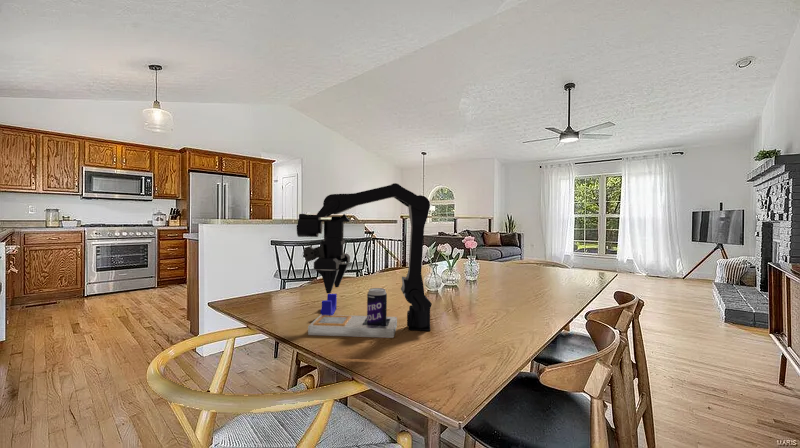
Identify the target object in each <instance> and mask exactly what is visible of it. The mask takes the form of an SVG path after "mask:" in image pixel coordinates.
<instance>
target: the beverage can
mask: <svg viewBox="0 0 800 448" xmlns="http://www.w3.org/2000/svg"><path fill="white" fill-rule="evenodd" d="M366 295H367V296H366V299H367V300H366V301H367V302H366V306H367V307H366V316H367V325H369V326H386V317H388V316H387V313H388V311H387V305H388V304H387V303H388V302H387V301H388V300H387V299H388V298H387V297H388V295H387V290H386V288H383V287H382V288H381V287H373V288H369V289H368V292H367V294H366Z"/></svg>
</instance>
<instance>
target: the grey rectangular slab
mask: <svg viewBox="0 0 800 448" xmlns="http://www.w3.org/2000/svg"><path fill="white" fill-rule="evenodd" d="M397 326H398V316H386V326H369V325H367V315H350V314H349V315H347V314H344V315H343V314H333V315H322V314H320V315H319V316H317V318H315V319H314V320H313V321H312V322H311V323H310V324H309V325H308V326H307V335H308V336H327V337H330V336H331V337H355V338H357V337H358V338H359V337H361V338H385V339H386V338H388V339H392V338H393V339H394V337H395V334H396V330H397Z"/></svg>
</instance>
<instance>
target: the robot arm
mask: <svg viewBox="0 0 800 448" xmlns="http://www.w3.org/2000/svg"><path fill="white" fill-rule="evenodd" d="M393 198H394V199H396V200H397V202H400V203H401V204H402V205H404V206H406V207H407V208H408V216H409V217H408V218H409V222H410V235H409V236H410V238H409V254H408V255H409V256H408V269H407V273H406V276H401V282H402V285H401V288H400V290H401V293H402V294H403V297H404V299H405V300H406V301H407V303H409V304H410V305H409V306H408V308H409V309H408V310H407V313H406V315H407V316H406V326H407V327H408V328H407V329H408V331H431V307H432V302H431V300H430V299H429V298H428V297H427V296H426V294H425V287H424V281H423V275H422V268H423V267H422V266H423V265H422V264H423V249H424V237H425V236H424V235H425V233H424V232H425V226H426V223H427V219H428V217H429V213H430V212H429V211H430V208H431V203H430V200H429V199H428V198H427V197H426V196H425V195H421V194H419V195H417V194H416V193H414V192H412V191H410V190H408V189H407V188H404V187H403V186H401V185H400V184H399V183H395V182H394V183H391V184H389V185H384V186H381V187H377V188H371V189H367V190H363V191H359V192H354V193H332V194H329V195H328V194H327V196H325V198H324V199H323V202H322V203H323V204H322V205H323V206H322V207H321V208H320V210H319V211H318V212H317V213H316V214H305V213H298V218H297V224H296V235H297V237H298V238H319V235H321V234H323V240H321V242H320V246H317V247H313V246H312V245H309V246H307V247H304V251H303V252H302V253H303V254H302V258H305V261H306V263H309V262H312V261H313V269H314V270H315V272H316V273H318V274H319V275H321V278H322V281H323V285H324V287H325V292H326V294H332V290H333V288H334V287H335V288H339V287H340V284H341V283H342V280H343V278H344V276H345V273H346V271H347V268H348V267H349V264H350V262H351V256H350V255H349V253H344V245H345V244H346V240H344V232H345V231H344V225H345V224H344V223H350V222H351V219H349V218H348V217H347V214H342V215H341V216H337V215H339V214H341V213H344V212H346V211H349V210H350V209H352V208H355V207H357V206H362V205H367V204H370V203H375V202H379V201H382V200H383V201H384V200H387V199H393ZM332 215H333V216H332ZM334 215H336V216H334ZM330 216H331V219H322V218H329V217H330Z"/></svg>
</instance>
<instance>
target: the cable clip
mask: <svg viewBox="0 0 800 448" xmlns="http://www.w3.org/2000/svg"><path fill="white" fill-rule="evenodd" d="M337 299H338V298H337V293H327V299H325V300H322V301H321V309H320V315H335V312H336V310H337Z"/></svg>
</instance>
